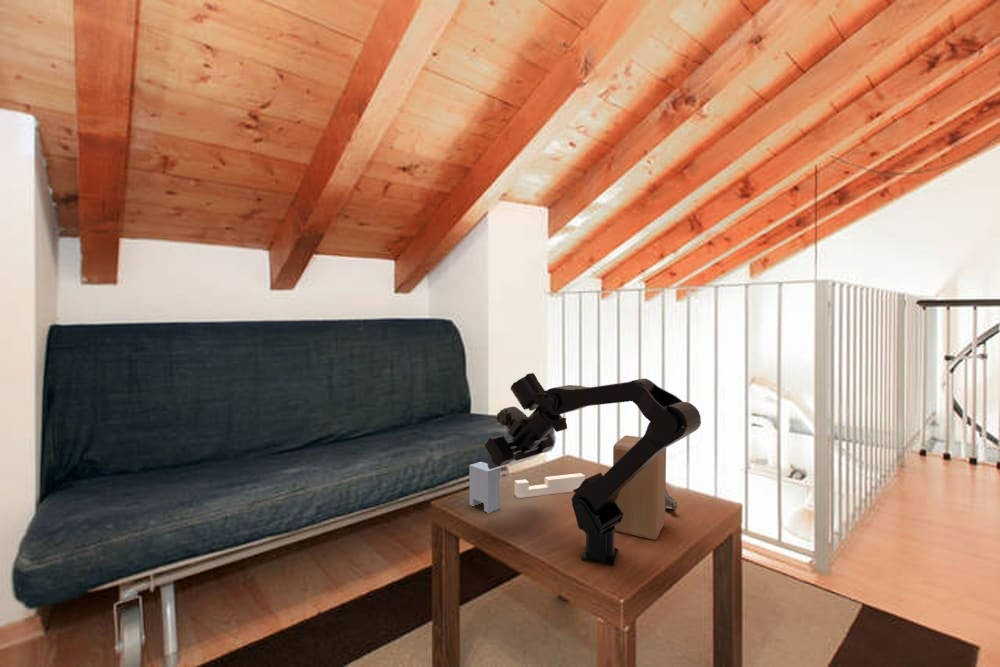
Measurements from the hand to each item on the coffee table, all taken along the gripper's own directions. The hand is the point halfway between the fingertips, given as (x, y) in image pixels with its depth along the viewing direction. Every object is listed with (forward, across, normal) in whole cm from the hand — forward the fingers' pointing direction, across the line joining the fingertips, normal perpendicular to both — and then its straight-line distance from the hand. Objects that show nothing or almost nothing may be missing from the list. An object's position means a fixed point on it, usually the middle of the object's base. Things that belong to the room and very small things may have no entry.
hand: (502, 463), depth 112 cm
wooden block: (-10, -17, +28) cm, 35 cm away
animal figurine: (-9, -32, +28) cm, 43 cm away
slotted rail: (+9, -20, +9) cm, 23 cm away
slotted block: (+14, 0, +4) cm, 14 cm away
